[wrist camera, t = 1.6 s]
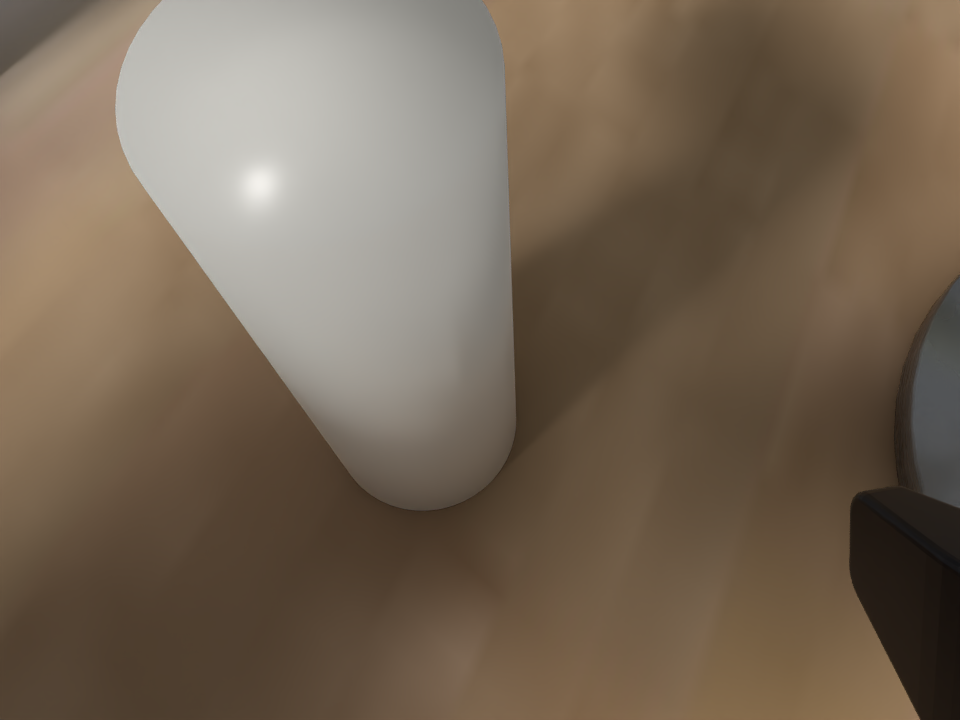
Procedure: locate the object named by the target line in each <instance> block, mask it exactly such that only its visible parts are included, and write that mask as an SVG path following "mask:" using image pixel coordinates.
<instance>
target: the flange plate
mask: <svg viewBox="0 0 960 720" xmlns="http://www.w3.org/2000/svg"><path fill="white" fill-rule="evenodd" d="M894 441H895V453H896V465H897V475H898V480H899V484H900V486H902V487H905V488H908V489H911V490H913V491H916V492H919V493H921V494H924V495H926V496H929V497H932V498H934V499H937V500H940V501H942V502H945V503H948V504H950V505H953V506H956V507H958V508H960V274H959V275H958V276H957V277H956V278H955V279H954V281H953V282H952V283H951V284H950V285H949V286H948V288H947V289H946V290H945V291H944V292H943V294H942V295H941V296H940V297H939V299H938V300H937V301H936V302H935V303H934V305H933V306H932V307H931V309H930V311H929V312H928V314H927V316H926V318H925V319H924V321H923V323H922V324H921V326H920V328H919V330H918V331H917V333H916V335H915V337H914V340H913V343H912V345H911V348H910V350H909V353H908V356H907V358H906V361H905V363H904V366H903V371H902V375H901V380H900V385H899V389H898V394H897V399H896V413H895V429H894Z"/></svg>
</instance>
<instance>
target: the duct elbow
mask: <svg viewBox="0 0 960 720" xmlns="http://www.w3.org/2000/svg"><path fill="white" fill-rule="evenodd" d="M115 111H116V122H117V131H118V134H119V138H120V142H121V146H122V149H123V152H124V154H125V156H126V158H127V160H128V163H129V165H130V167H131V169H132V171H133V172H134V174H135V175H136V177H137V178H138V180H139V181H140V183H141V184H142V185H143V187H144V188H145V190H146V191H147V193H148V194H149V195H150V197H151V198H152V199H153V201H154V202H155V204H156V205H157V206H158V208H159V209H160V211H161V212H162V213H163V215H164V216H165V218H166V219H167V220H168V222H169V223H170V225H171V226H172V227H173V229H174V230H175V231H176V233H177V234H178V236H179V237H180V238H181V240H182V241H183V243H184V244H185V245H186V247H187V248H188V250H189V251H190V252H191V254H192V255H193V257H194V258H195V259H196V261H197V262H198V263H199V265H200V266H201V268H202V269H203V270H204V272H205V273H206V275H207V276H208V277H209V279H210V280H211V282H212V283H213V284H214V286H215V287H216V289H217V290H218V291H219V293H220V294H221V295H222V297H223V298H224V300H225V301H226V302H227V304H228V305H229V307H230V308H231V309H232V311H233V312H234V314H235V315H236V316H237V318H238V319H239V321H240V322H241V323H242V325H243V326H244V327H245V329H246V330H247V332H248V333H249V334H250V336H251V337H252V339H253V340H254V341H255V343H256V344H257V346H258V347H259V348H260V350H261V351H262V353H263V354H264V355H265V357H266V358H267V359H268V361H269V362H270V364H271V365H272V366H273V368H274V369H275V371H276V372H277V373H278V375H279V376H280V378H281V379H282V380H283V382H284V383H285V385H286V386H287V387H288V389H289V390H290V392H291V393H292V394H293V396H294V397H295V398H296V400H297V401H298V403H299V404H300V405H301V407H302V408H303V410H304V411H305V412H306V414H307V415H308V417H309V418H310V419H311V421H312V422H313V424H314V425H315V426H316V428H317V429H318V430H319V432H320V433H321V435H322V436H323V437H324V439H325V440H326V442H327V443H328V444H329V446H330V447H331V449H332V450H333V451H334V453H335V454H336V456H337V457H338V458H339V460H340V461H341V462H342V464H343V465H344V467H345V468H346V469H347V471H348V472H349V474H350V475H351V476H352V478H353V479H354V480H355V481H356V482H357V483H358V484H359V486H360V487H362V488H363V489H364V490H365V491H366V492H368V493H369V494H370V495H372V496H373V497H375V498H376V499H378V500H380V501H382V502H384V503H386V504H389V505H391V506H395V507H398V508H401V509H407V510H414V511H429V510H438V509H443V508H447V507H451V506H453V505H456V504H459V503H461V502H463V501H465V500H467V499H469V498H471V497H473V496H474V495H476V494H477V493H478V492H480V491H481V490H483V489H484V488H485V487H486V486H487V485H488V484H489V483H490V482H491V481H492V480H493V479H494V478H495V477H496V475H497V474H498V473H499V472H500V470H501V469H502V467H503V465H504V464H505V462H506V460H507V458H508V456H509V454H510V451H511V449H512V445H513V442H514V438H515V431H516V396H515V366H514V336H513V306H512V275H511V245H510V215H509V185H508V155H507V125H506V95H505V65H504V58H503V50H502V44H501V41H500V38H499V34H498V31H497V28H496V25H495V23H494V21H493V19H492V17H491V15H490V13H489V11H488V9H487V7H486V6H485V4H484V3H483V1H482V0H162V1H161V2H160V3H159V5H158V6H157V7H156V8H155V9H154V10H153V11H152V12H151V14H150V15H149V16H148V18H147V19H146V21H145V22H144V23H143V25H142V26H141V27H140V29H139V31H138V32H137V34H136V36H135V38H134V40H133V41H132V43H131V45H130V47H129V49H128V52H127V54H126V57H125V60H124V62H123V65H122V67H121V71H120V76H119V80H118V85H117V91H116V106H115Z"/></svg>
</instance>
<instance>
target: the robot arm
mask: <svg viewBox="0 0 960 720" xmlns="http://www.w3.org/2000/svg"><path fill="white" fill-rule="evenodd" d="M849 566H850V575H851V579H852V583H853V586H854V589H855V592H856V594H857V596H858V598H859V600H860V602H861V604H862V606H863V608H864V610H865V612H866V614H867V616H868V618H869V620H870V622H871V624H872V625H873V627H874V629H875V631H876V633H877V635H878V637H879V639H880V641H881V643H882V645H883V647H884V649H885V651H886V653H887V655H888V657H889V659H890V661H891V663H892V665H893V667H894V669H895V671H896V673H897V675H898V677H899V679H900V681H901V683H902V685H903V687H904V689H905V691H906V693H907V695H908V697H909V698H910V700H911V702H912V704H913V706H914V708H915V710H916V712H917V714H918V716H919V718H920V720H960V508H958V507H956V506H953V505H950V504H948V503H945V502H942V501H940V500H937V499H934V498H932V497H929V496H926V495H924V494H921V493H919V492H916V491H913V490H911V489H908V488H905V487H902V486H890V487H885V488H879V489H874V490H868V491H862V492H859V493H858V494H857V495H856V496H855V497H854V498H853V500H852V503H851V508H850V558H849Z"/></svg>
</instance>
